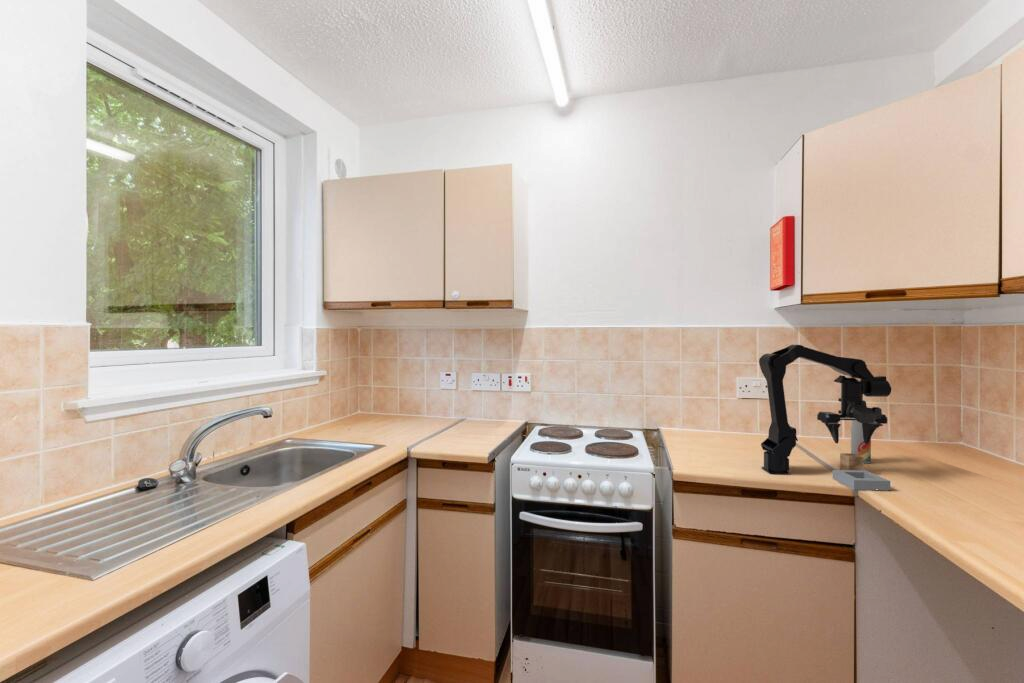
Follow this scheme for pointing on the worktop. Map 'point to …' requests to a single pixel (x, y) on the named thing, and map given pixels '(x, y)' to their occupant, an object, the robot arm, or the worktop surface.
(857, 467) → the peg
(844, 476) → the socket block
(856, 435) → the lotion bottle
